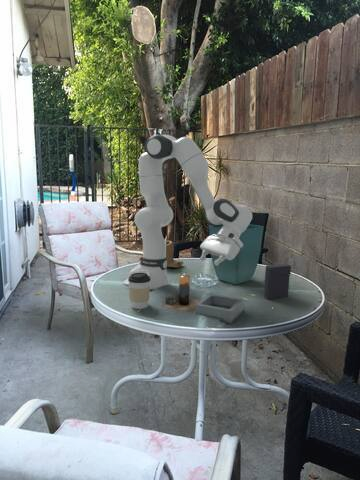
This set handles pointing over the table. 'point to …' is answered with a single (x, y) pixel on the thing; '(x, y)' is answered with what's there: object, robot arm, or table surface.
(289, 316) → the table surface
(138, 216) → the robot arm
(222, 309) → the bin
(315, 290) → the table surface
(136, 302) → the coffee cup
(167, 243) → the wooden bookend
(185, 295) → the battery cell
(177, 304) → the plate
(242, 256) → the flower pot
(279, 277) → the grey box
